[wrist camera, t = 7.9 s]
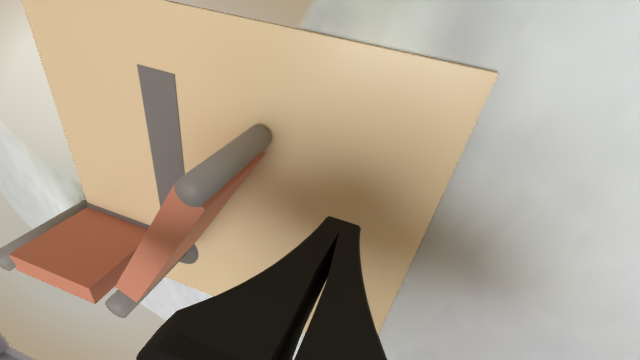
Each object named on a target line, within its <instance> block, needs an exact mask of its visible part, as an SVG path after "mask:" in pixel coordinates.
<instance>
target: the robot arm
mask: <svg viewBox="0 0 640 360" xmlns="http://www.w3.org/2000/svg"><path fill="white" fill-rule="evenodd" d="M360 231H361V228H360V226H359V225H356V224H353V223H350V222H347V221H343V220H340V219H337V218H334V217H331V216H328V217H326V218H325V220H324V221H323V222H322V223H321V224H320V225H319V226H318V227H317V229H316V230H315V231H314V232H312V233H311V234H310V235H309V236H308V237H307V238H306V239H305V240H304V241H303V242H302V243H300V244H299V245H298V246H297V247H296V248H294V249H293V250H292V251H291V252H289V253H288V254H287V255H286V256H284V257H283V258H282V259H280V260H279V261H277V262H276V263H275V264H273V265H272V266H270V267H268V268H267V269H265V270H264V271H262V272H261V273H259V274H257V275H255V276H254V277H252V278H250V279H249V280H247V281H245V282H243V283H241V284H239V285H237V286H235V287H233V288H231V289H229V290H227V291H225V292H223V293H220V294H218V295H216V296H214V297H212V298H209V299H207V300H204V301H202V302H199V303H196V304H194V305H191V306H189V307H186V308H183V309H181V310H178V311H176V312H175V313H174V314H173V315H172V316H171V317H170V318H169V319H168V320H167V321H166V322H165V323H164V324H163V325H162V326H161V327H160V328H159V329H158V330H157V331H156V333H155V334H154V335H153V336H152V338H151V339H150V340H149V341H148V342H147V344H146V345H145V346H144V347H143V348H142V350H141V351H140V352H139V354H138V355H137V360H292V358H293V355H294V352H295V349H296V347H297V344H298V341H299V339H300V336H301V334H302V331H303V329H304V327H305V325H306V322H307V320H308V318H309V316H310V314H311V312H312V310H313V308H314V306H315V303H316V301H317V299H318V297H319V295H320V293H321V291H322V288H323V286H324V284H325V286H324V289H323V291H322V294H321V296H320V299H319V301H318V304H317V306H316V309H315V311H314V314H313V316H312V319H311V321H310V324H309V326H308V328H307V331H306V333H305V336H304V338H303V341H302V343H301V345H300V348H299V350H298V352H297V355H296V357H295V359H294V360H387V358H386V356H385V353H384V350H383V347H382V345H381V342H380V339H379V336H378V334H377V331H376V328H375V325H374V322H373V318H372V315H371V312H370V308H369V304H368V300H367V296H366V291H365V286H364V281H363V275H362V268H361V259H360ZM326 280H327V281H326ZM325 282H326V283H325ZM0 360H36V359H34V358H32V357H30V356H28V355H26V354H24V353H22V352H20V351H18V350H16V349H14V348H12V347H10V346H9V343H8V342H7V340H6V338H5V337H4V336H3V335H2V334H1V333H0Z"/></svg>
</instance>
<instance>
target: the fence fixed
mask: <svg viewBox="0 0 640 360" xmlns="http://www.w3.org/2000/svg"><path fill="white" fill-rule="evenodd" d="M147 230H148V229H147V228H144V227H141V226H139V225H136V224H133V223H130V222H128V221H125V220H122V219H120V218H117V217H114V216H111V215H109V214H106V213H103V212H101V211H98V210H95V209H92V208H90V207H88V206H87V201H82V202H80V203H78V204H76V205H75V206H73V207H71V208H70V209H68V210H66V211H64V212H63V213H61V214H59V215H57V216H56V217H54V218H52V219H50V220H49V221H47V222H45V223H44V224H42V225H40V226H38V227H37V228H35V229H33V230H32V231H30V232H28V233H26V234H24V235H23V236H21V237H19V238H18V239H16V240H14V241H12V242H11V243H9V244H7V245H5V246H4V247H2V248H0V267H2V268H3V269H5V270H8V271H10V270H12V269H14V268H15V267H16V268H17V270H18V271H20V272H23V273H25V274H27V275H30V276H32V277H34V278H37V279H39V280H41V281H43V282H46V283H48V284H50V285H53V286H55V287H57V288H60V289H62V290H64V291H66V292H69V293H71V294H73V295H76V296H78V297H80V298H83V299H85V300H87V301H90V302H92V303H94V304H96V303H97V302H98V301H99V300H100V299H101V298H102V297H103V296H104V295H106V294H107V293H108V292H109V291H110V290H111V289H112V288H113V287H114V286H116V284H117V282H118V281H119V279H120V277H121V275H122V274H123V272H124V270H125V268H126V267H127V265H128V263H129V262H130V260H131V258H132V256H133V255H134V253H135V251H136V249H137V248H138V246H139V244H140V242H141V241H142V239H143V237H144V235H145V234H146V232H147ZM187 252H188V251H187ZM187 252H186V253H185V254H184V255H183V256H182V257H181V258H180V259H179V260H178V261H177V262H176V263H175V264H174V265H173V266H172V267H171V268H170V269H169V270H168V271H167V272H166V273H165V274H164V275H163V276H162V277H161V278H160V280H159V281H158V282H157V283H156V284H155V285H154V286H153V287H152V288H151V289H150V290H149V291H148V292H147V293H146V294H145V295H144V296H143V297H142V298H141V299H140V300H139V301H138V302H137V303H136V302H135V301H133V300H132V299H131V298H129V297H128V296H127V295H125V294H124V293H123V292H121V291H120V290H119V289H118V290H117V291H116V292H115V293H114V294H113V295H112V296H111V297H110V298H109V299H108V300H107V301H106V302H105V304H106V306H107V308H108V309H109V310H110V311H111V312H112V313H113V314H115V315H117V316H119V317H122V318H125V317H127V315H128V314H129V313H130V312H131V311H132V310H133V309H134V308H135V307H136V306H137V305H138V304H139V303H140V302H141V301H142V300H143V299H144V298H145V297H146V296H147V295H148V294H149V293H150V292H151V290H152V289H153V288H154V287H155V286H156V285H157V284H158V283H159V282H160V281H161V280H162V279H163V278H164V277H165V276H166V275H167V274H168V273H169V272H170V271H171V270H172V269H173V268H174V267H175V265H176V264H177V263H178V262H179V261H180V260H181V259H182V258H183V257H184V256H185V255H186V254H187Z"/></svg>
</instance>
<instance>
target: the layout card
mask: <svg viewBox="0 0 640 360" xmlns="http://www.w3.org/2000/svg"><path fill="white" fill-rule="evenodd" d="M22 3H23V6H24V9H25V12H26V15H27V19H28V22H29V24H30V28H31V31H32V34H33V37H34V40H35V43H36V46H37V49H38V52H39V56H40V59H41V61H42V65H43V68H44V71H45V74H46V77H47V80H48V83H49V86H50V89H51V92H52V95H53V99H54V102H55V105H56V108H57V111H58V114H59V117H60V120H61V123H62V126H63V129H64V132H65V135H66V139H67V142H68V145H69V148H70V151H71V154H72V157H73V160H74V163H75V166H76V169H77V173H78V175H79V179H80V182H81V185H82V188H83V191H84V194H85V197H86V200H87V206H88V207H90V208H92V209H95V210H98V211H101V212H103V213H106V214H109V215H111V216H114V217H117V218H120V219H122V220H125V221H128V222H130V223H133V224H136V225H139V226H141V227H144V228H147V229H149V227H150V225H151V223H152V222H153V220H154V218H155V216H156V215H157V213H158V211H159V209H160V208H161V206H162V204H163V202H164V201H165V199H166V197H167V196H168V194H169V192H170V190H171V189H172V187H173V185H174V184H175V182H176V180H177V179H179V178H180V177H182V176H183V175H184V174H186V173H187V172H189V171H190V170H191V169H193V168H194V167H196V166H197V165H199V164H200V163H201V162H203V161H204V160H206V159H207V158H208V157H210V156H211V155H213V154H214V153H215V152H217V151H218V150H220V149H221V148H223V147H224V146H225V145H227V144H228V143H230V142H231V141H232V140H234V139H235V138H237V137H238V136H239V135H241V134H242V133H244V132H245V131H246V130H248V129H249V128H251V127H252V126H254V125H262V126H264V127H265V128H266V129H267V130H268V131H269V133H270V135H271V142H270V144H269V145H268V146H267V147H266V148H265V149H264V150H263V152H264V153H265V155H264V156H263V157H262V158H261V160H260V161H259V162H258V163H257V165H256V166H255V167H254V169H253V170H252V171H251V172H250V174H249V175H248V176H247V177H246V179H245V180H244V181H243V183H242V184H241V185H240V186H239V188H238V189H237V190H236V191H235V193H234V194H233V195H232V197H231V198H230V199H229V200H228V202H227V203H226V204H225V205H224V207H223V208H222V209H221V210H220V212H219V213H218V214H217V216H216V217H215V218H214V219H213V221H212V222H211V223H210V224H209V226H208V227H207V228H206V230H205V231H204V232H203V233H202V235H201V236H200V237H199V238H198V240H197V241H196V242H195V243H194V244H193V245H192V246H191V248H190V249H189V250H188V252H187V254H186V255H185V256H184V257H183V258H182V259H181V260H180V261H179V262H178V263H177V264H176V265H175V267H174V268H173V269H172V270H171V271H170V272H169V273H168V274H167V275H166V276H165V277H167V278H170V279H172V280H175V281H177V282H180V283H182V284H185V285H187V286H190V287H192V288H195V289H197V290H200V291H202V292H205V293H207V294H210V295H212V296H216V295H218V294H220V293H223V292H225V291H227V290H229V289H231V288H233V287H235V286H237V285H239V284H241V283H243V282H245V281H247V280H249V279H250V278H252V277H254V276H255V275H257V274H259V273H261V272H262V271H264V270H265V269H267V268H268V267H270V266H272V265H273V264H275V263H276V262H277V261H279V260H280V259H282V258H283V257H284V256H286V255H287V254H288V253H289V252H291V251H292V250H293V249H294V248H296V247H297V246H298V245H299V244H300V243H302V242H303V241H304V240H305V239H306V238H307V237H308V236H309V235H310V234H311V233H312V232H314V231H315V230H316V229H317V227H318V226H319V225H320V224H321V223H322V222H323V221H324V220H325V218H326V217H328V216H331V217H334V218H337V219H340V220H343V221H347V222H350V223H353V224H356V225H359V226H360V228H361V231H360V259H361V268H362V275H363V281H364V286H365V291H366V296H367V300H368V304H369V308H370V312H371V315H372V318H373V322H374V325H375V328H376V331H377V334H379V332H380V330H381V328H382V325H383V323H384V321H385V319H386V317H387V315H388V312H389V310H390V308H391V306H392V304H393V302H394V299H395V297H396V295H397V293H398V291H399V289H400V286H401V284H402V282H403V280H404V278H405V276H406V273H407V271H408V269H409V267H410V265H411V263H412V260H413V258H414V256H415V254H416V252H417V250H418V247H419V245H420V243H421V241H422V239H423V237H424V234H425V232H426V230H427V228H428V226H429V224H430V221H431V219H432V217H433V215H434V213H435V211H436V208H437V206H438V204H439V202H440V200H441V198H442V195H443V193H444V191H445V189H446V187H447V185H448V182H449V180H450V178H451V176H452V174H453V172H454V169H455V167H456V165H457V163H458V161H459V159H460V156H461V154H462V152H463V150H464V148H465V146H466V143H467V141H468V139H469V137H470V135H471V133H472V130H473V128H474V126H475V124H476V122H477V120H478V117H479V115H480V113H481V111H482V109H483V107H484V104H485V102H486V100H487V98H488V96H489V94H490V91H491V89H492V87H493V85H494V83H495V81H496V78H497V76H498V73H497V72H495V71H490V70H486V69H481V68H476V67H472V66H467V65H463V64H458V63H453V62H449V61H444V60H440V59H435V58H430V57H426V56H421V55H417V54H412V53H407V52H403V51H398V50H394V49H389V48H384V47H380V46H375V45H370V44H366V43H361V42H357V41H352V40H347V39H343V38H338V37H334V36H329V35H324V34H320V33H315V32H311V31H306V30H301V29H297V28H292V27H288V26H283V25H278V24H274V23H269V22H264V21H260V20H255V19H251V18H246V17H241V16H237V15H232V14H228V13H223V12H218V11H214V10H209V9H205V8H200V7H195V6H190V5H186V4H182V3H177V2H172V1H168V0H22ZM326 281H327V280H326ZM325 283H326V282H325ZM324 286H325V284H324ZM324 286H323V288H322V291H323V289H324ZM322 291H321V293H320V295H319V297H318V299H317V301H316V303H315V306H314V308H313V310H312V312H311V314H310V316H309V318H308V320H307V322H306V325H305V327H304V329H303V332H306V331H307V328H308V326H309V324H310V321H311V319H312V316H313V314H314V311H315V309H316V306H317V304H318V301H319V299H320V296H321V294H322Z"/></svg>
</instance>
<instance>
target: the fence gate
mask: <svg viewBox="0 0 640 360" xmlns="http://www.w3.org/2000/svg"><path fill="white" fill-rule="evenodd" d="M270 142H271V135H270V133H269V131H268V130H267V129H266V128H265V127H264V126H262V125H254V126H252V127H251V128H249V129H248V130H246V131H245V132H244V133H242V134H241V135H239V136H238V137H237V138H235V139H234V140H232V141H231V142H230V143H228V144H227V145H225V146H224V147H223V148H221V149H220V150H218V151H217V152H215V153H214V154H213V155H211V156H210V157H208V158H207V159H206V160H204V161H203V162H201V163H200V164H199V165H197V166H196V167H194V168H193V169H191V170H190V171H189V172H187V173H186V174H184V175H183V176H182V177H180V178H179V179H177V180H176V182H175V184H174V185H173V187H172V189H171V190H170V192H169V194H168V196H167V197H166V199H165V201H164V202H163V204H162V206H161V208H160V209H159V211H158V213H157V215H156V216H155V218H154V220H153V222H152V223H151V225H150V227H149V229H148V230H147V232H146V234H145V235H144V237H143V239H142V241H141V242H140V244H139V246H138V248H137V249H136V251H135V253H134V255H133V256H132V258H131V260H130V262H129V263H128V265H127V267H126V268H125V270H124V272H123V274H122V275H121V277H120V279H119V281H118V282H117V284H116V286H115V287H116V288H117V289H119V290H120V291H121V292H123V293H124V294H125V295H127V296H128V297H129V298H131V299H132V300H133V301H135V302H136V303H137V302H138V301H139V300H140V299H141V298H142V297H143V296H144V295H145V294H146V293H147V292H148V291H149V290H150V289H151V288H152V287H153V286H154V285H155V284H156V283H157V282H158V281H159V280H160V278H161V277H162V276H163V275H164V274H165V273H166V272H167V271H168V270H169V269H170V268H171V267H172V266H173V265H174V264H175V263H176V262H177V261H178V260H179V259H180V258H181V257H182V256H183V255H184V254H185V253H186V252H187V251H188V250H189V249H190V248H191V246H192V245H193V244H194V243H195V242H196V241H197V240H198V238H199V237H200V236H201V235H202V233H203V232H204V231H205V230H206V228H207V227H208V226H209V224H210V223H211V222H212V221H213V219H214V218H215V217H216V216H217V214H218V213H219V212H220V210H221V209H222V208H223V207H224V205H225V204H226V203H227V202H228V200H229V199H230V198H231V197H232V195H233V194H234V193H235V191H236V190H237V189H238V188H239V186H240V185H241V184H242V183H243V181H244V180H245V179H246V177H247V176H248V175H249V174H250V172H251V171H252V170H253V169H254V167H255V166H256V165H257V163H258V162H259V161H260V160H261V158H262V157H263V156H264V155H265V153H264V152H263V150H264V149H265V148H266V147H267V146H268V145H269V144H270Z"/></svg>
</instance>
